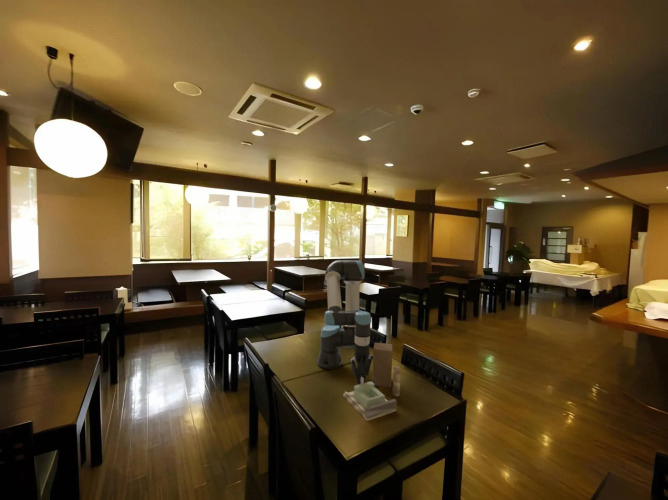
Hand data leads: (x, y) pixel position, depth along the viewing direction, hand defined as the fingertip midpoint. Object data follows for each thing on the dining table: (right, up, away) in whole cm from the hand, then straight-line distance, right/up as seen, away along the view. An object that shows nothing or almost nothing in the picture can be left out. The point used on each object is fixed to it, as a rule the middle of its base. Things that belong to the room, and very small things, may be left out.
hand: (360, 389), depth 140 cm
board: (+3, -4, -6) cm, 7 cm away
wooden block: (+13, -3, +14) cm, 20 cm away
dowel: (+18, -4, +2) cm, 19 cm away
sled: (+3, -2, -6) cm, 7 cm away
